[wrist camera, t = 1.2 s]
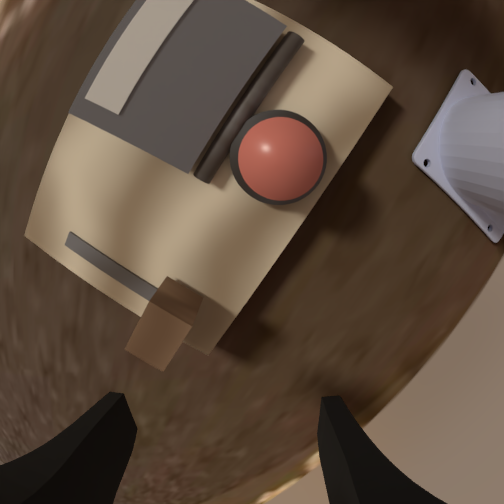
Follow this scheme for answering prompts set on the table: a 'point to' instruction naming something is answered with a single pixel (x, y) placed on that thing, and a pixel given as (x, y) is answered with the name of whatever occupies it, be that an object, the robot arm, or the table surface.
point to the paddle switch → (174, 73)
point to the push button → (280, 158)
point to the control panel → (200, 189)
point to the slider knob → (164, 323)
